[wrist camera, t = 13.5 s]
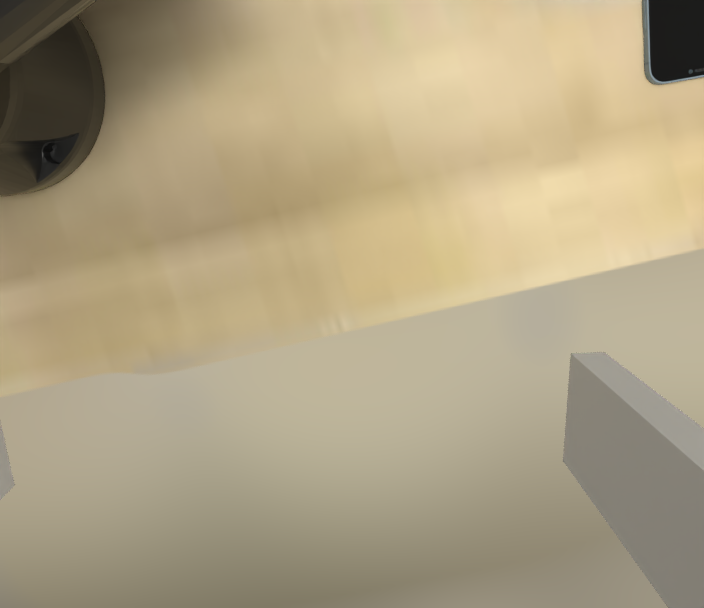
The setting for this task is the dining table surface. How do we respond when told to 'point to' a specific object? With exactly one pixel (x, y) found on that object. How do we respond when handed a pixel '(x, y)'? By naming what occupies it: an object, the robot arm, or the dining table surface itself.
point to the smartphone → (673, 40)
